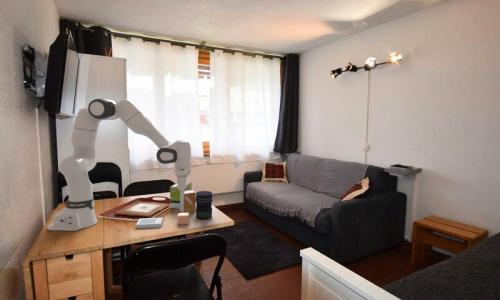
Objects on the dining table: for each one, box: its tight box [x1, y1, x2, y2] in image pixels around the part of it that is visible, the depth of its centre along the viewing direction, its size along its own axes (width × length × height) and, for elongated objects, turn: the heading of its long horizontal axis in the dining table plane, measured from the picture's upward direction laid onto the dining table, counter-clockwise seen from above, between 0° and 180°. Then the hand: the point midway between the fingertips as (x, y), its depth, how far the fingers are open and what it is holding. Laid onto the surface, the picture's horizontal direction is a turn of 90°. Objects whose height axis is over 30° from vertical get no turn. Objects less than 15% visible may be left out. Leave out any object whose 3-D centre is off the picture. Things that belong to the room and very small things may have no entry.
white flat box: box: [135, 217, 164, 229], centre depth 150 cm, size 13×9×2 cm
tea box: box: [169, 181, 193, 209], centre depth 184 cm, size 15×10×15 cm, turn 172°
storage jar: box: [195, 190, 213, 221], centre depth 162 cm, size 10×10×15 cm
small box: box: [179, 189, 196, 214], centre depth 171 cm, size 8×6×13 cm
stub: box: [177, 212, 190, 225], centre depth 153 cm, size 6×5×5 cm
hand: (183, 194), depth 151 cm, fingers open, 8 cm apart
